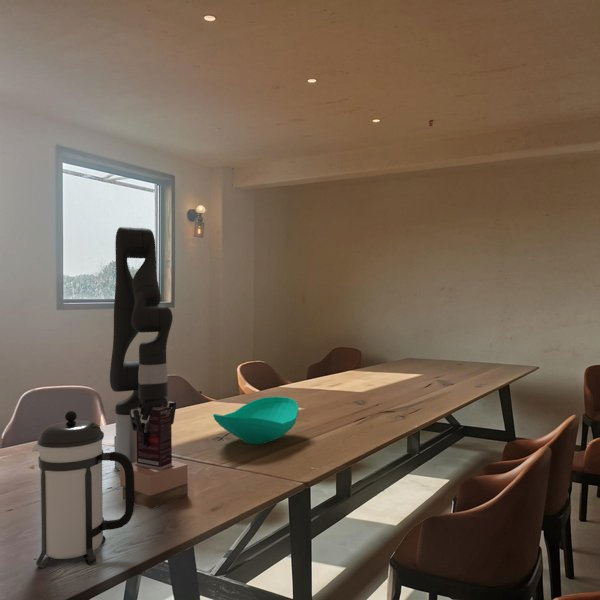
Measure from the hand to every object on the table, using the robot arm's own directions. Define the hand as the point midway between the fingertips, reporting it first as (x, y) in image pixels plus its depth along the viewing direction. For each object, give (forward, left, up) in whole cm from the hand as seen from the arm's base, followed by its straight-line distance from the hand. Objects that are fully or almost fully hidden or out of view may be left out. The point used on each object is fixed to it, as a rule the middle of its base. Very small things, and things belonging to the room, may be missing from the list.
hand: (153, 443), depth 150 cm
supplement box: (0, 0, -6) cm, 6 cm away
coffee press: (+14, -30, -15) cm, 36 cm away
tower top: (0, 0, -11) cm, 11 cm away
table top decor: (-16, +59, -15) cm, 63 cm away
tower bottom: (0, +1, -15) cm, 15 cm away
